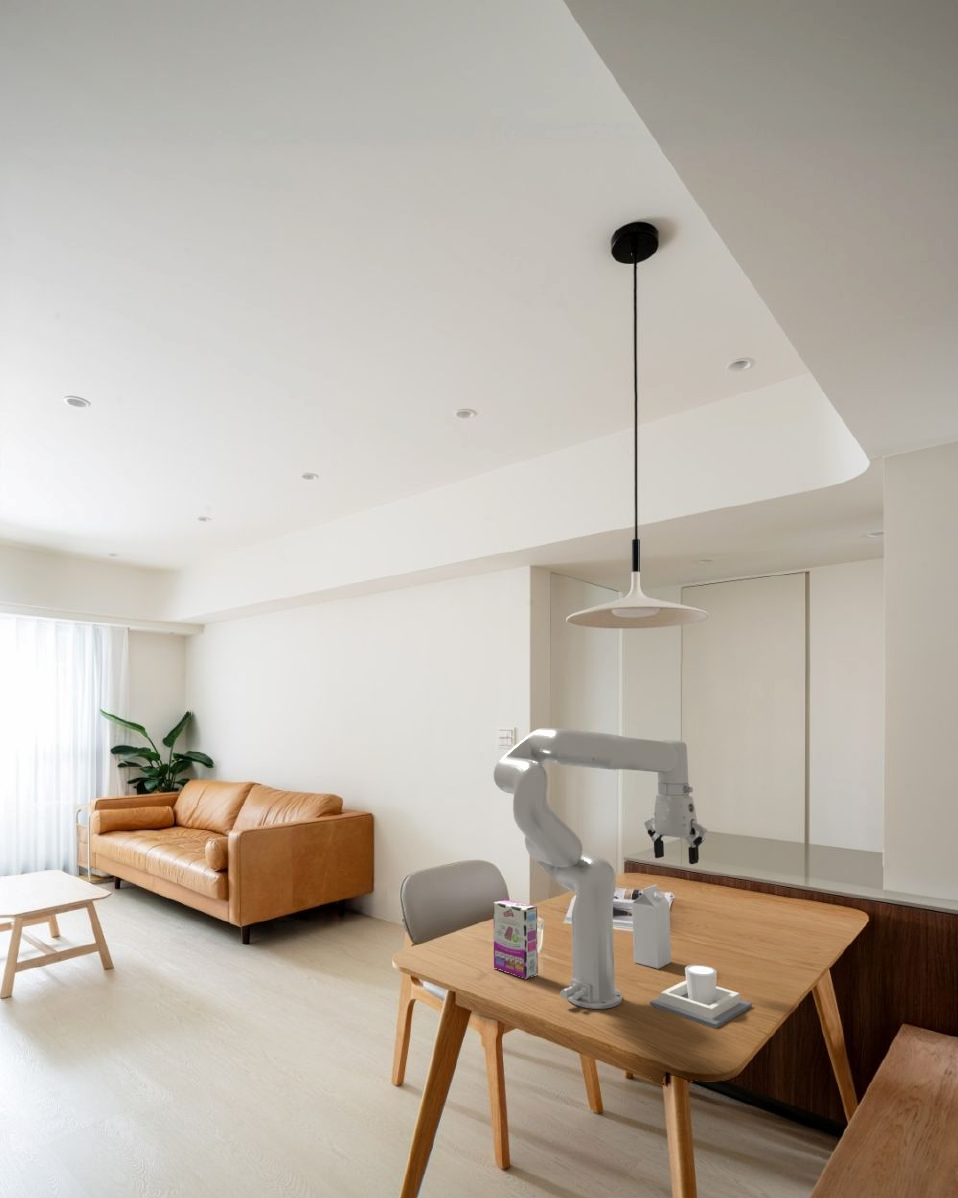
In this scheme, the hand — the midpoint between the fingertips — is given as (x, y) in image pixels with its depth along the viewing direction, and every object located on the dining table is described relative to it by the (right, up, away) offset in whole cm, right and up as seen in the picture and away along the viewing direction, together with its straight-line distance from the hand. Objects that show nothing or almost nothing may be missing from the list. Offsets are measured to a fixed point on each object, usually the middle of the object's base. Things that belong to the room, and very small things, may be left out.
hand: (676, 860), depth 179 cm
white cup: (0, -25, -19) cm, 32 cm away
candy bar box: (-40, -29, +2) cm, 50 cm away
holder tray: (0, -26, -19) cm, 32 cm away
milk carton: (-4, -30, +8) cm, 32 cm away
